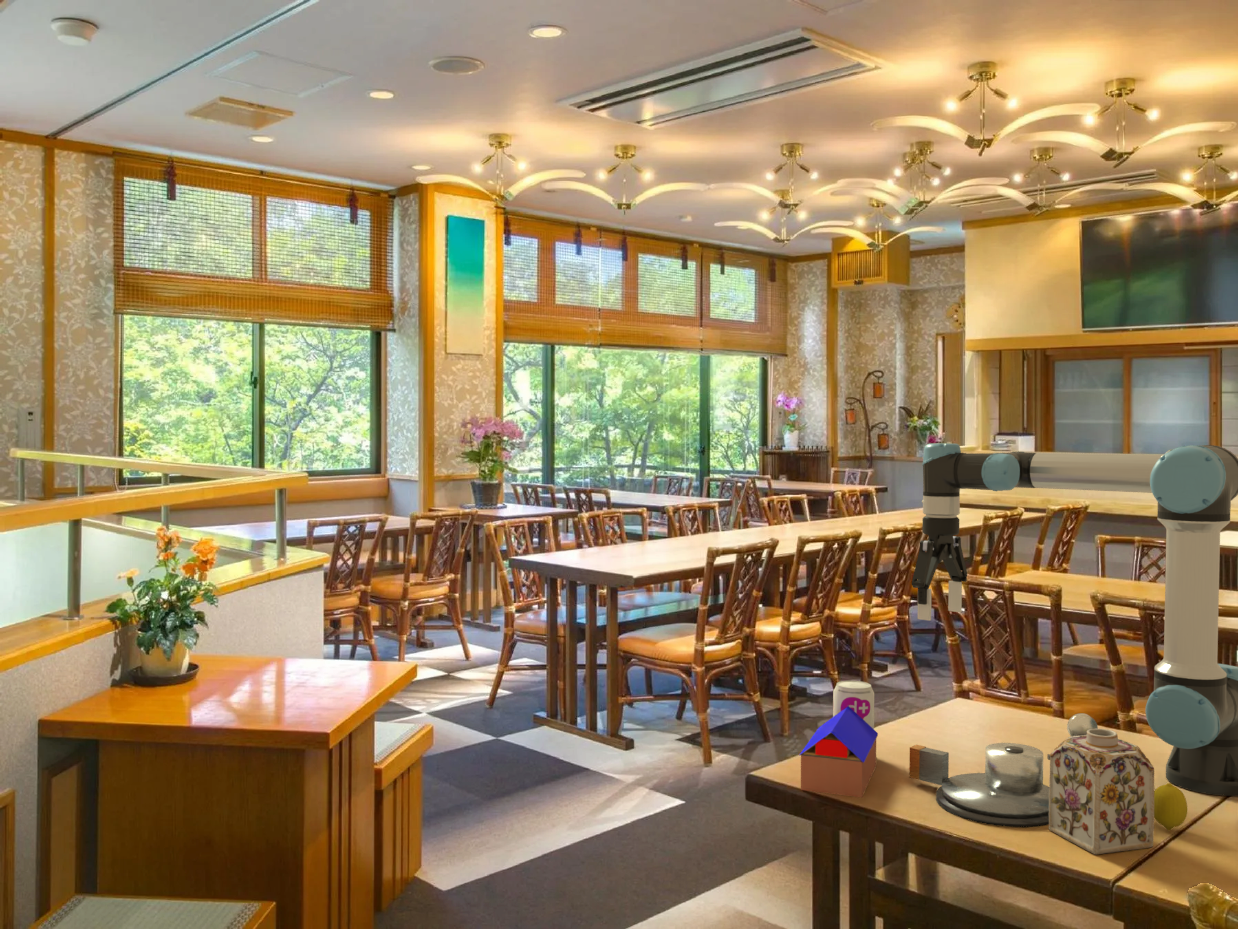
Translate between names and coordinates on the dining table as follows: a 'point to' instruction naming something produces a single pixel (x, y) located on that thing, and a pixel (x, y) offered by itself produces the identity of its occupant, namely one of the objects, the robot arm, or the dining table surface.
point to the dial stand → (1079, 725)
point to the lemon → (1169, 806)
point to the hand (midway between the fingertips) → (939, 615)
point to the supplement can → (855, 699)
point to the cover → (1014, 767)
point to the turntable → (975, 788)
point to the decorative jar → (1101, 793)
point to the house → (840, 756)
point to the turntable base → (989, 818)
